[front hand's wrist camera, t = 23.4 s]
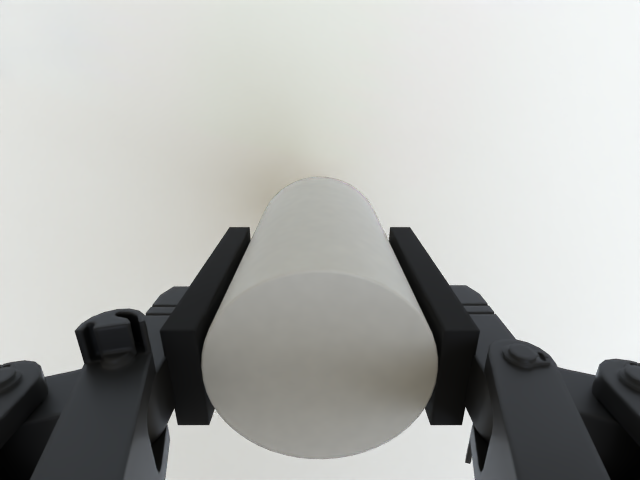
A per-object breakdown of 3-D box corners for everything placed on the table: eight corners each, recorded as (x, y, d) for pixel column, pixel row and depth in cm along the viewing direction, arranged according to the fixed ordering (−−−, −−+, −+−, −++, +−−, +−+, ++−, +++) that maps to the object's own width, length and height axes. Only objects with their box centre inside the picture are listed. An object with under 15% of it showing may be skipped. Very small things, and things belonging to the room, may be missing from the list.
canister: (370, 291, 17) (415, 466, 9) (258, 282, 17) (203, 453, 9) (387, 182, 16) (463, 280, 7) (262, 171, 15) (195, 259, 7)
